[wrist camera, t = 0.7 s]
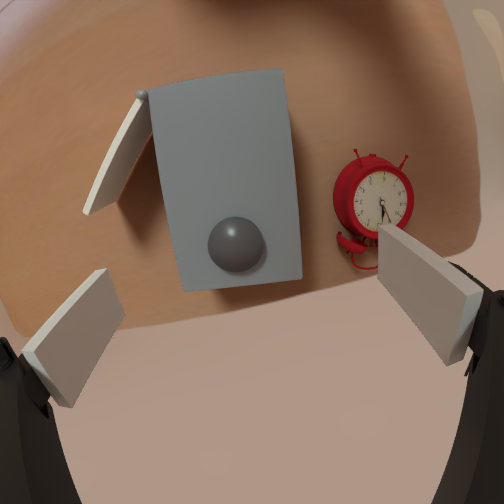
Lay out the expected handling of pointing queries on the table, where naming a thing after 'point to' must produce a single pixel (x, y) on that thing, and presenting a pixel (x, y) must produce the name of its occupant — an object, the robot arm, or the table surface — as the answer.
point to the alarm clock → (371, 200)
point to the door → (121, 155)
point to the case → (228, 179)
